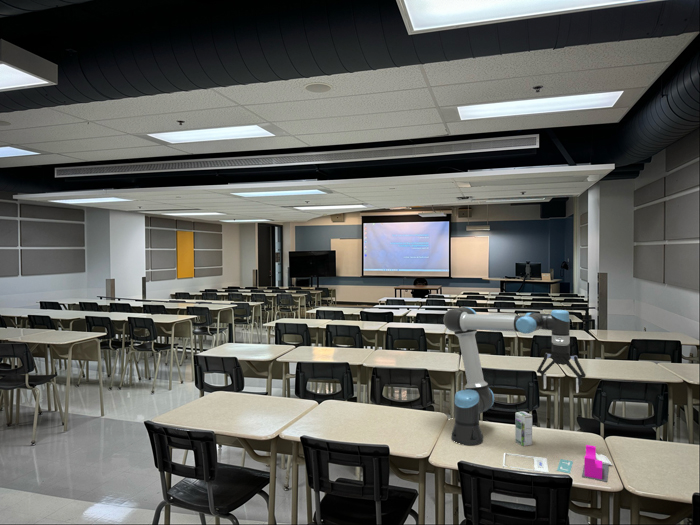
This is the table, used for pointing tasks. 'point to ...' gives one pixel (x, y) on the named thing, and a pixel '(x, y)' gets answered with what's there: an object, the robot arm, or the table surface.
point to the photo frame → (539, 463)
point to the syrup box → (523, 428)
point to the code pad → (565, 466)
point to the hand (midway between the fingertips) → (560, 390)
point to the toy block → (592, 463)
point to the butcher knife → (603, 459)
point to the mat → (604, 473)
